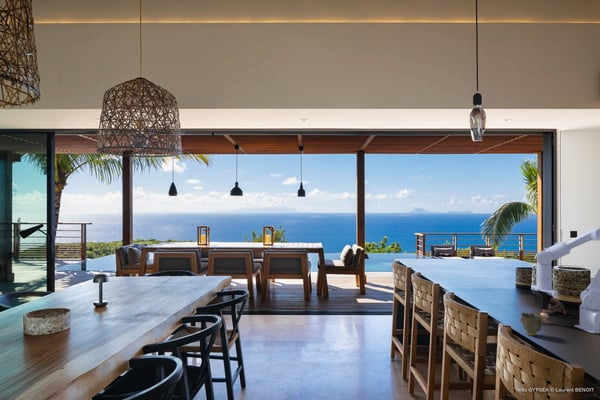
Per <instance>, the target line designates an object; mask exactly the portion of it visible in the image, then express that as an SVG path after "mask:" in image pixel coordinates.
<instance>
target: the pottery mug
mask: <svg viewBox="0 0 600 400" xmlns="http://www.w3.org/2000/svg"><path fill="white" fill-rule="evenodd" d="M541 310H542V309H541ZM566 312H567V311H566V310H565V306H564V304H563V303H562V302H561V301H560V300H558V299H556V298H552V299H551V300H550V303H549V305H548V309H547V310H542V313H562V314H563V315H565V316H567V315H566V314H567V313H566Z"/></svg>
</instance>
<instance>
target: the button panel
mask: <svg viewBox="0 0 600 400" xmlns="http://www.w3.org/2000/svg"><path fill="white" fill-rule="evenodd" d="M519 321H520V322H521V323H522V318H521V317H520V318H519ZM552 324H553V322H552V321H551V320H549V319H548V318H543V321H542V325H552Z"/></svg>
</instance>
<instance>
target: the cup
mask: <svg viewBox="0 0 600 400" xmlns="http://www.w3.org/2000/svg"><path fill="white" fill-rule="evenodd" d="M538 315H539V316H538ZM520 316H521V317H520V318H522V322H521V323H522V327H523V329H524V330H525V331H526V335H528V336H530V337H537V336H538V333H539V332H540V331H541V330H542V326H543V324H542V321H543V316H542V315H540V314H538V313H536V314H535V313H532V312H530V313H529V312H527V313H526V312H523V313H521V314H520Z"/></svg>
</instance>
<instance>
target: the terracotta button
mask: <svg viewBox="0 0 600 400" xmlns="http://www.w3.org/2000/svg"><path fill="white" fill-rule="evenodd" d="M539 315H542V316H543V318H544V319H548V318H549V313H548V312H545V313H543V312H540V314H539Z"/></svg>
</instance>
